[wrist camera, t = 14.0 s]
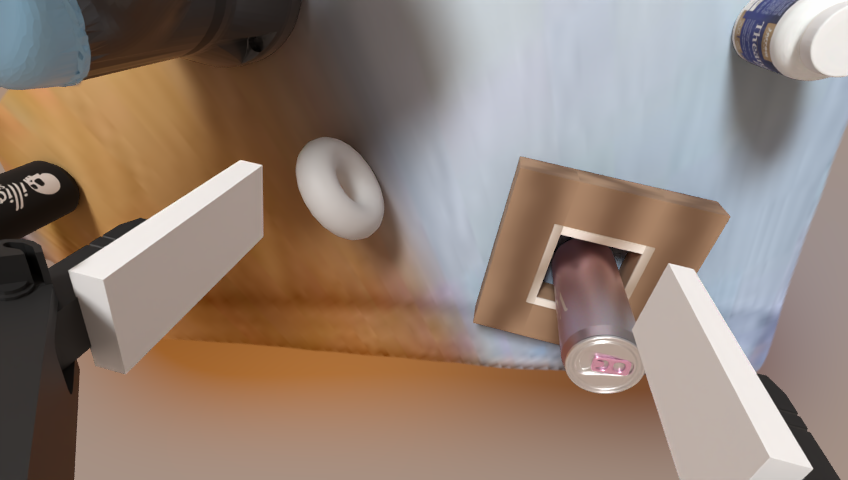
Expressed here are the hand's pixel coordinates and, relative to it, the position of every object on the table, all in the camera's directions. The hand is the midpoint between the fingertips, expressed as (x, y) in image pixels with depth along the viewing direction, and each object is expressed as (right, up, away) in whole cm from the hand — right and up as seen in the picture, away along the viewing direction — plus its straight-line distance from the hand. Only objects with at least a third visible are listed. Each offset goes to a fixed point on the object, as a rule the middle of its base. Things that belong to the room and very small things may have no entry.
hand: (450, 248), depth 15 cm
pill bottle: (+25, +16, +19) cm, 35 cm away
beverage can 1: (-44, +7, +39) cm, 59 cm away
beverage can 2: (+15, -2, +32) cm, 35 cm away
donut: (-7, +7, +31) cm, 33 cm away
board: (+15, -2, +31) cm, 35 cm away
